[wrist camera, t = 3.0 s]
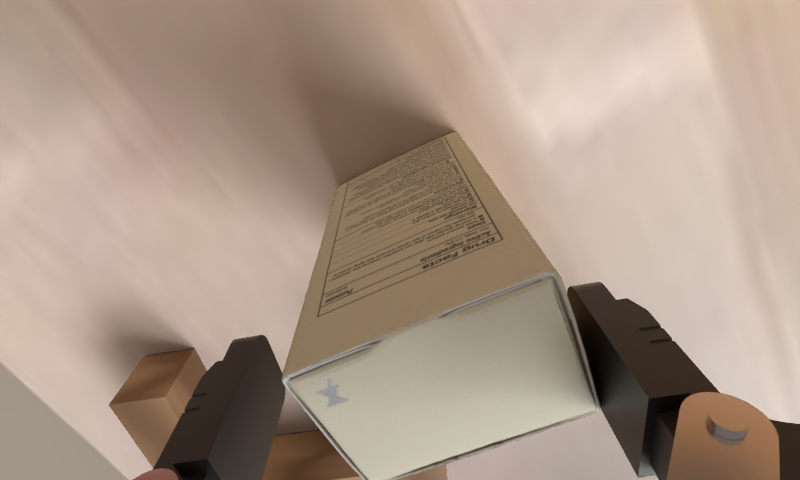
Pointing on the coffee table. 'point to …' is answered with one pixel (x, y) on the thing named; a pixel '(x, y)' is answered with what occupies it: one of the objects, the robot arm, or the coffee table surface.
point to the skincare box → (433, 321)
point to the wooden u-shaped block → (165, 402)
